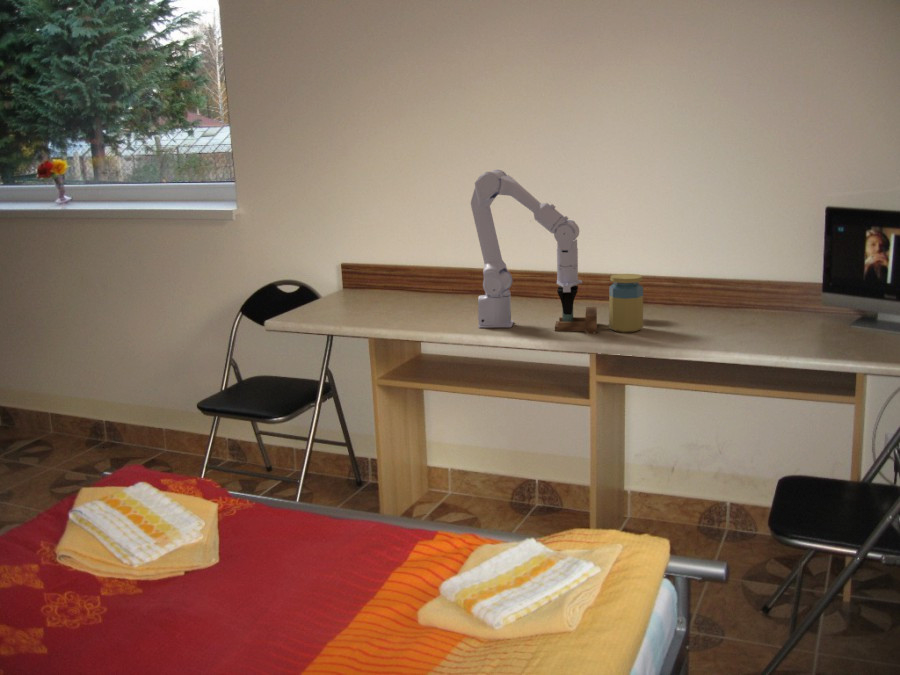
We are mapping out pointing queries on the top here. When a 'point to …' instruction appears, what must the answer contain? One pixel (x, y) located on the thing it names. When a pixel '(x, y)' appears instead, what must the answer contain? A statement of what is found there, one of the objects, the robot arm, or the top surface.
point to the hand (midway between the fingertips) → (567, 313)
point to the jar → (626, 303)
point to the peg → (568, 317)
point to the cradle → (580, 322)
